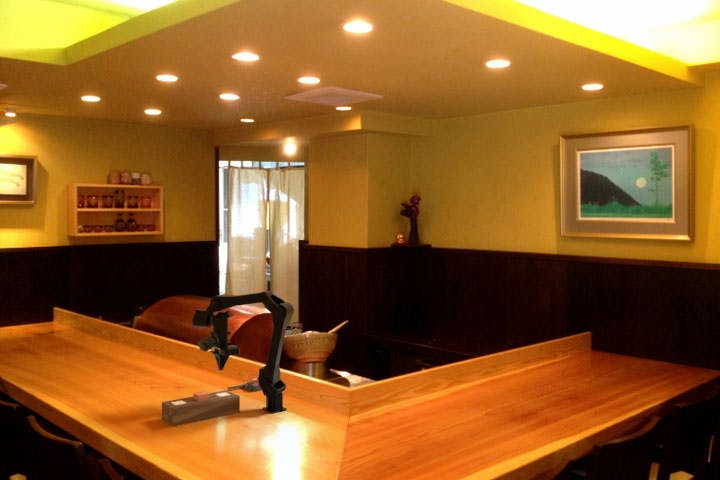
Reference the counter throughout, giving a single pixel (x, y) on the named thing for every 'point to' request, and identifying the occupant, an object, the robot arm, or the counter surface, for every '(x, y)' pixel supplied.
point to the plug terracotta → (201, 396)
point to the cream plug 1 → (178, 403)
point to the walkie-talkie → (249, 386)
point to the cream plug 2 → (223, 394)
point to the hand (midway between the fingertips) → (220, 370)
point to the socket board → (200, 409)
